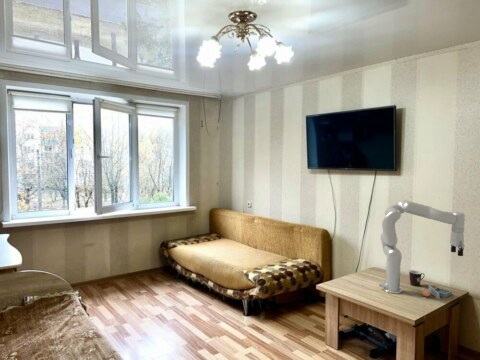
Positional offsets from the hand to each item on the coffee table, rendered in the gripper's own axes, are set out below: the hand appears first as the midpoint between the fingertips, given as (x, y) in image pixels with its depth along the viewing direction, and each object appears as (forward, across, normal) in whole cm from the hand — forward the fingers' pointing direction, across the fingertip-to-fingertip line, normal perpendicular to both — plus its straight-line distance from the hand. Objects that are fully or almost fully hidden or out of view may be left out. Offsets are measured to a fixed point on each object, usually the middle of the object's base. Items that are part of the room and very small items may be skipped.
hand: (456, 254), depth 243 cm
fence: (+29, +3, -16) cm, 33 cm away
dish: (+29, +1, -10) cm, 31 cm away
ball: (+26, +7, -22) cm, 35 cm away
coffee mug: (+29, -15, -20) cm, 38 cm away
